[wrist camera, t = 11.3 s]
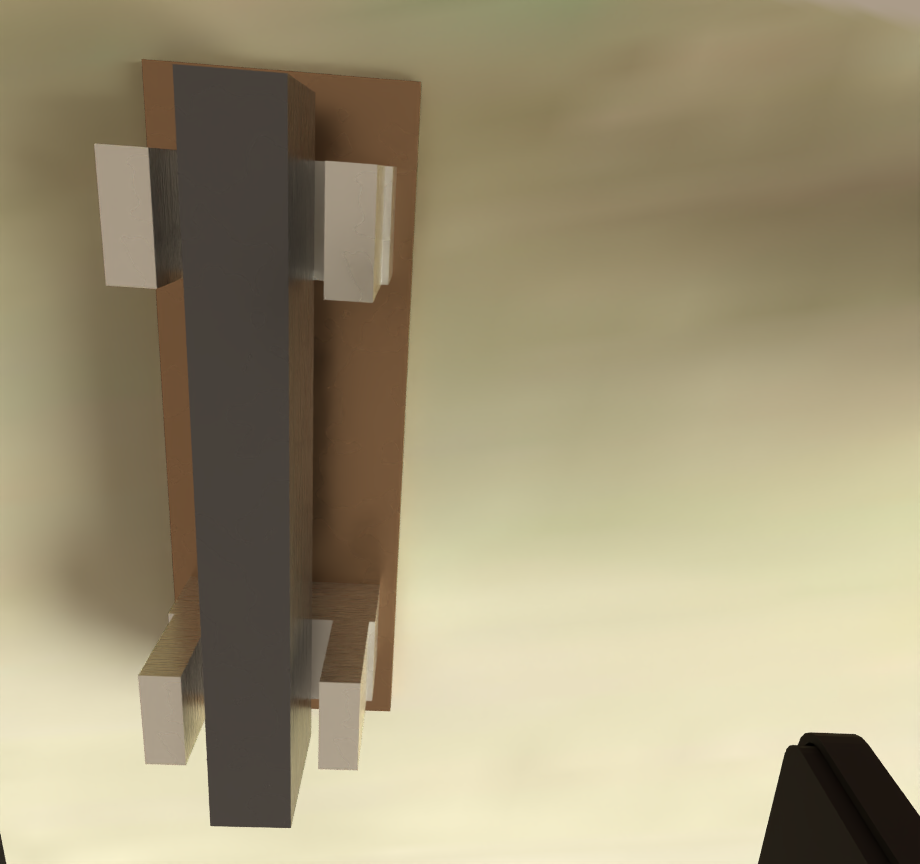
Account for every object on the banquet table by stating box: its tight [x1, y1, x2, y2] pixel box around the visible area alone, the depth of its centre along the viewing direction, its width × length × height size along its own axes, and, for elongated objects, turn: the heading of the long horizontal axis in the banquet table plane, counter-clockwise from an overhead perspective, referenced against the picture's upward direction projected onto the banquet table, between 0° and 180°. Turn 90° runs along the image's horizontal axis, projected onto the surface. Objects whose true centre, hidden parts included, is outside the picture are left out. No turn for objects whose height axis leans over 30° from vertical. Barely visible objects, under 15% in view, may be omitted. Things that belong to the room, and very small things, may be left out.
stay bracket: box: [94, 59, 421, 770], centre depth 29 cm, size 10×28×8 cm, turn 176°
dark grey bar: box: [172, 64, 315, 828], centre depth 26 cm, size 3×26×5 cm, turn 176°
